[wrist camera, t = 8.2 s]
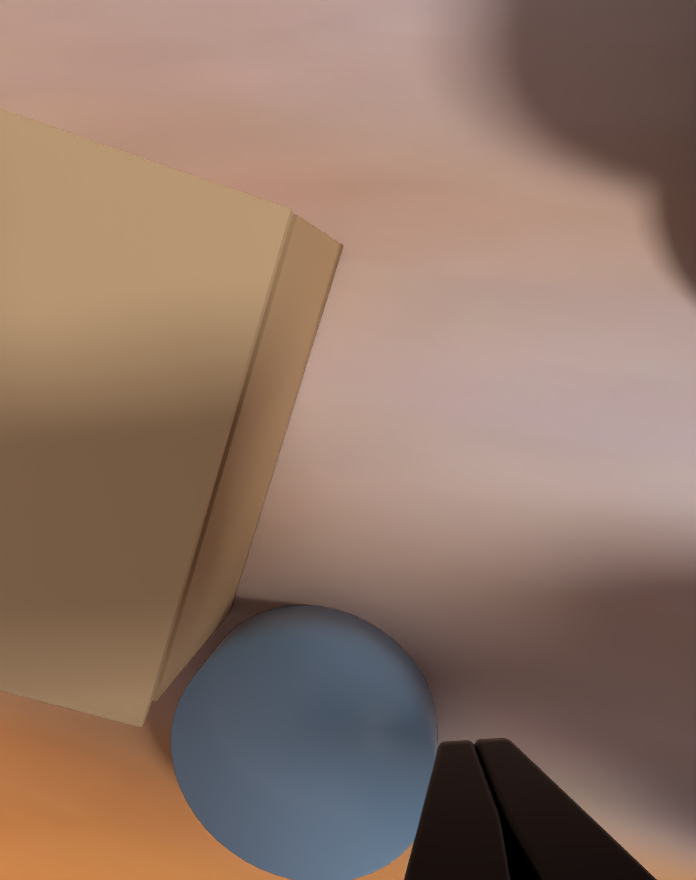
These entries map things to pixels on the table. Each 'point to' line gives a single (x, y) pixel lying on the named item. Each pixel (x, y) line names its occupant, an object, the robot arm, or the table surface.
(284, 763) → the blue rounded dome
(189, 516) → the lid flap
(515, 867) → the robot arm
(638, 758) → the table surface
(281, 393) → the carton
